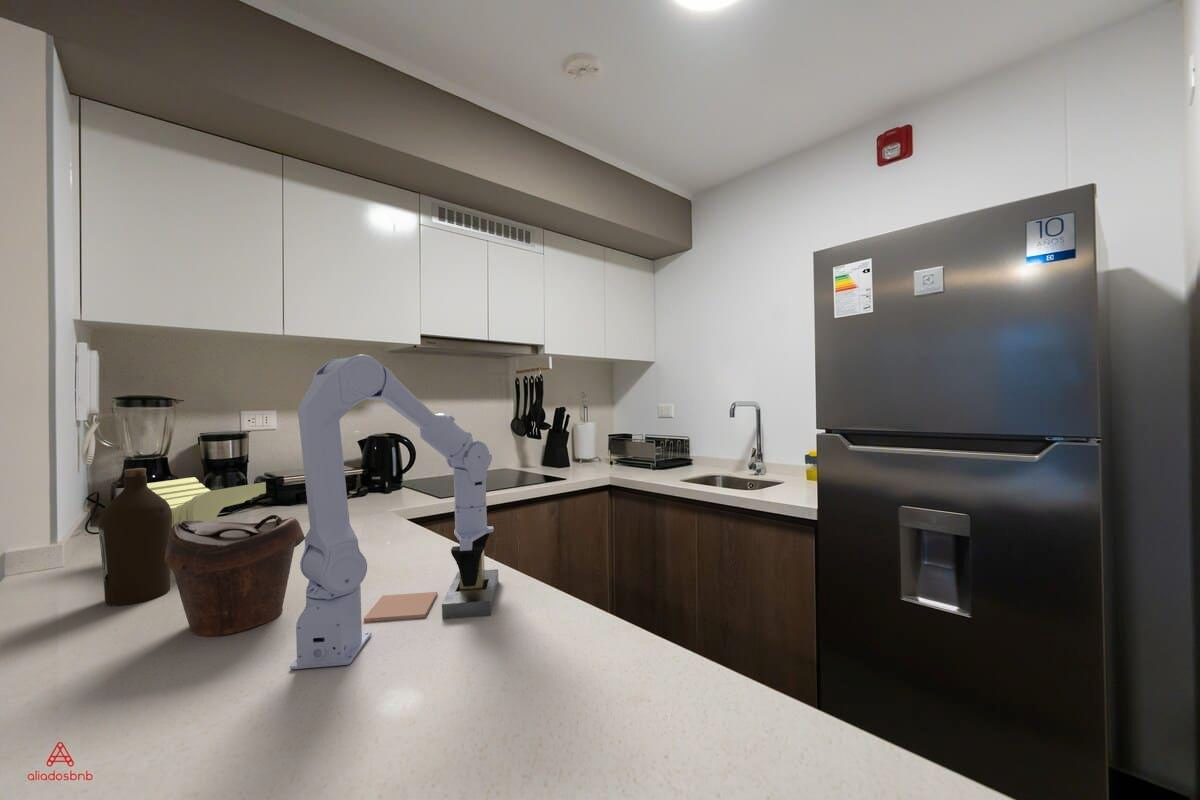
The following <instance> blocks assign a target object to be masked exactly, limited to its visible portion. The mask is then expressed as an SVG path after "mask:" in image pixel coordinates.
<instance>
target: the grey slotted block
mask: <svg viewBox="0 0 1200 800" xmlns="http://www.w3.org/2000/svg"><path fill="white" fill-rule="evenodd" d="M499 579H500V578H499V569H485V590H473V591H460V577H459V571H457V572H456V575H455V577H454V579H453V581H452V582H451V585H450V587H449V589H448V591H447V593H446V595H445V597H444V599H443V601H442V604H441V617H442V618H441V619H442V620H447V619H457V618H459V619H461V618H472V617H473V618H474V617H487V616H491V615H492V610H493V608H494V603H495V599H496V594H497V590H498V585H499Z"/></svg>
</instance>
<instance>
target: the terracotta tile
mask: <svg viewBox="0 0 1200 800" xmlns="http://www.w3.org/2000/svg"><path fill="white" fill-rule="evenodd" d="M437 597H438V591H429V592H428V591H427V592H418V593H417V592H416V593H415V592H414V593H401V594H400V593H399V594H387V595H386V594H385V595H383V594H382V595H381V596H380V598H379V599H378V600H377V602H376V603H375V604H374V605H373V607H372V608H371V609H370V610H369V612H367V614H366V615H365V616H364V618H363V623H370V622H382V621H383V622H386V621H397V620H398V621H400V620H412V619H413V620H414V619H425V618H426V617H427V616H428V614H429V611H430V610H431V608H432V606H433V604H434V602H435V601H436V599H437Z"/></svg>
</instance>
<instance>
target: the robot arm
mask: <svg viewBox="0 0 1200 800" xmlns="http://www.w3.org/2000/svg"><path fill="white" fill-rule="evenodd" d="M364 400H373V401H379V402H382V403H383V402H384V404H386V406H389V407H390V408H392V409H393V410H394V411H396V412H397V413H398V414H400V415H401V416H402V417H404V418H405V419H406V420H408V421H409V422H411V423H412V424H414V425H415V426H416V427H418V428H419V432H420V439H422V441H424V443H425V442H426V443H425V444H428V445H429V446H430V447H431V448H433V449H434V450H435V451H437V453H439V454H440V455H442V457H444V458H445V459H446V463H447V465H448V467H449V468H452V469H453V489H454V490H453V491H454V493H453V494H454V526H455V527H454V529H453V531H454V532H453V533H454V534H453V535H454V536H455V537H456V539H457V540H458V541H459V545H458V546H457V545H455V546H452V547H451V549H450V553H451V556H452V557H453V559H454V561H455V563H456V564H457V565H456V566H457V567H458V572H459V571H460V575H461V580H462V583H463V586H464V587H469V586H475V585H476V582H477V576H478V567H479V561H480V557H481V554H482V552H483V550H484V551H485V548H486V544H487V542H488V539H489V537H490V534H491V533H494V529H495V528H494V526H491V525H490V526H488V516H487V513H488V512H487V510H488V509H487V480H486V479H487V478H488V469H489V467H490V465H491V463H492V460H493V454H490V450H489V447H488V446H487V445H486V443H485V442H482V441H480V440H474V439H473V434H472V433H471V432H470V431H465V430H464V429H463V428H461V426H459V425H458V424H457V423H456V422H455V420H456V418H455V417H454V416H453V415H451V414H445V413H443V412H442V413H441V412H440V413H435V414H434V412H433V411H432V410H430V408H428V407H427V406H426V404H424V403H423V402H422V401H421V400H420V399H419V398H418V397H417V396H416V395H414V394H413V392H411V390H410V389H408V388H407V387H406V386H405V385H404V384H403V383H402V382H401V381H400V380H399V379H397V377H396V375H394V373H393V372H392V370H391V369H389V368H388V367H386V366H384V365H382V364H381V363H380V361H378V359H376V358H375V357H373V356H371V355H367V354H357V355H353V356H351V357H345V358H334V359H331V360H329V361H327V362H326V363H325V364H323V365H322V366H321V367H320V368H319V369H317V370H316V371H315V372H313V378H312V381H311V383H310V385H309V387H308V389H307V391H306V393H305V394H304V396H303V398H302V400H301V403H300V404H299V406H298V411H297V416H298V418H297V419H298V425H299V435H300V436H299V437H300V443H301V444H300V445H301V456H302V464H303V465H302V466H303V475H304V481H305V491H306V493H305V494H306V502H307V513H308V521H309V530H308V531H307V533H306V535H304V537H305V539H304V551H303V554H302V556H301V559H300V563H299V564H300V571H301V573H302V575H303V576H304V577H305V578H306V579H308V583H307V586H306V590H305V595H306V596H305V601H306V603H305V607H304V610H303V611H302V612H301V613H300V615H299V616H298V619H297V620H296V621H297V622H296V626H295V634H296V635H295V637H296V638H295V639H296V659H295V660H294V661H292V662H291V664H290V666H289V669H290V670H301V669H310V668H314V669H315V668H323V667H324V668H325V667H336V666H346V665H350V664H351V663H352V662H353V661H354V659H355V657H357V655H358V654H359V652H360V651H361V650H362V648H363V647H364V645H365V644H366V642H368V640H369V638H370V637H371V636H372V631H370V630H368V631H366V630H365V631H363V628H362V627H363V625H362V621H363V620H362V591H361V589H362V588H361V587H362V586H361V584H362V583H363V581H364V580H365V577H366V575H367V572H368V562H367V559H366V557H365V556H364V553H362V552H361V550H360V547H359V539H358V537H357V535H356V533H355V531H354V530H353V528H352V525H351V522H350V521H351V520H350V513H349V503H348V495H347V494H348V492H347V483H346V473H345V464H344V455H343V453H344V452H343V444H342V443H343V442H342V433H341V425H340V422H341V421H340V420H341V419H342V418H343V417H344V416H345V415H346V414H347V413H349V412H350V411H351V410H352V408H353V407H355V405H356V404H359V403H360V402H362V401H364Z"/></svg>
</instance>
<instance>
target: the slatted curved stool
mask: <svg viewBox="0 0 1200 800" xmlns="http://www.w3.org/2000/svg"><path fill="white" fill-rule="evenodd" d="M266 485H267V483H266V481H264V482H263V481H262V482H258V483H251V484H245V485H238V486H232V487H231V486H230V487H226V488H221V489H220V488H219V489H214V490H211V489H209V487H206V486H205V485H204V484H203V483H201V482H200V481H199V479H197V478H196V476H195V477H194V476H193V477H185V478H177V479H172V480H171V479H170V480H163V481H156V482H147V487H148V488H149V489H150V490H152V491H153V492H155V493H156V494H157V495H159V496H160V497H162V498H163V499H164V500H166V501H167V502H168V504H169V506H170V508H171V511H172V527H173V526H174V525H175V524H176V523H177V522H180V521H185V520H196V521H210V522H217V517H218V516H219V514H220V512H222V510H223V509H224V508H226V507H230V506H234V505H238V504H243V503H246V501H249V500H252V499H253V498H257V497H259V496H260V495H264V494H267V486H266Z"/></svg>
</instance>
